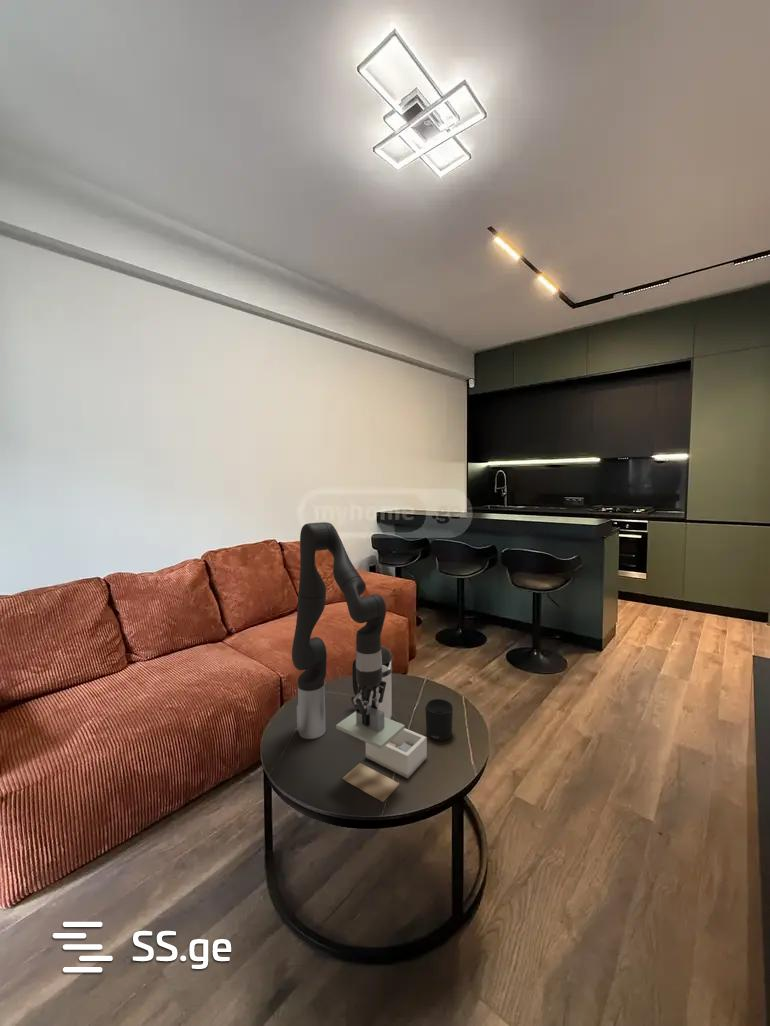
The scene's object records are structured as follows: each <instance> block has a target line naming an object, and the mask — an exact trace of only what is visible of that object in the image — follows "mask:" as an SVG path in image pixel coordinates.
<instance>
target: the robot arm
mask: <svg viewBox="0 0 770 1026" xmlns="http://www.w3.org/2000/svg"><path fill="white" fill-rule="evenodd" d="M299 534H300V536H299V555H300V556H299V558H300V559H299V560H300V562H299V564H300V565H299V567H300V569H299V582H298V583H299V585H298V590H297V591H298V592H297V593H298V595H297V609H296V610H297V612H296V613H297V614H296V623H295V629H294V636H293V641H292V645H291V646H292V647H291V660H292V664H293V666H294V668H295V669H297V670H298V671H302V672H301V674H299V676H298V678H297V701H298V702H297V703H298V704H297V705H296V728H297V730H296V731H297V732H298V734H299V735H298V736H300V737H301V738H303V739H306V740H314V739H315V740H316V739H318V738H321V737H322V736H323V735H324V734H325V732H326V701H325V700H326V697H325V695H326V693H325V680H326V676H327V659H328V658H327V656H328V655H327V647H326V645H325V642H324V641H323V639H322V638H320V637H318V636H315V637H311V636H312V633H313V631H314V629H315V627H316V624H317V623H318V621H319V620H320V618H321V616H322V614H323V612H324V609H325V607H326V600H327V599H326V598H327V587H326V583H325V581H324V579H323V578H322V576H321V574H320V572H319V571H318V568H317V566H316V552H318V551H326V550H327V551H329V553H330V554H331V555H332V556H333V557H332V558H333V567H332V573H333V574H332V575H333V578H334V580H335V582H336V585H337V586H338V587H339V589H340V591H341V592H342V594H343V596H344V598H345V602H346V606H347V610H348V613H349V616H350V618H351V619H352V621H354V622H355V623H357V624H364V623H365V624H364V626H362V627H361V628H359V629H358V630H357V631H356V633H355V639H356V640H355V646H356V649H355V650H356V652H355V659H356V681H357V683H358V685H359V688H358V694H357V695H355V696H351V698H350V699H351V702H352V705H353V707H354V709H355V711H356V713H359V714H361V715H362V724H363V725H365V726H367V727H368V726H369V725H370V713H369V711H370V707H372V708H375V709H377V710H378V707H379V703H382V701H383V696H384V691H385V687H386V682H385V681H382V654H381V646H382V643H381V642H382V641H381V635H382V630H383V627H384V624H385V619H386V615H387V604H386V602H385V599H384V598H383V596H381V595H380V594H377V593H374V594H369V595H365V596H364V595H363V593H364V592H365V591H366V587H367V586H366V582H365V581H364V579H363V578H362V576H361V575H360V573H359V572H358V570H357V569H356V568H355V566H354V564H353V563H352V561H351V559H350V557H349V555H348V553H347V550H346V548H345V546H344V544H343V541H342V540H341V538H340V535H339V533H338V531H337V529H336V528H335V526H334V525H333V524H332V523H330V522H328V521H327V522H325V521H324V522H323V521H321V522H311V523H310V522H309V523H305V524H304V525H303V526H302V527H301V530H300V533H299ZM362 595H363V596H362ZM379 693H380V698H379ZM367 701H368V702H367ZM364 705H365V706H366V709H365V708H364Z"/></svg>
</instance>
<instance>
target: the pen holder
mask: <svg viewBox="0 0 770 1026" xmlns="http://www.w3.org/2000/svg"><path fill="white" fill-rule="evenodd" d="M453 708H454V707H453V704H452V703H451V702H450V701H448V700H445V699H441V698H435V699H430V700H429V701H428V702H427V704H426V705H425V725H426V727H425V728H426V734H427V736H428V737H429V738H430V739H432V740H434V741H436V742H437V741H439V742H444V741H447V740H448V739H450V738H451V736H452V732H453V730H452V729H453V714H454V713H453V712H454V710H453Z"/></svg>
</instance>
